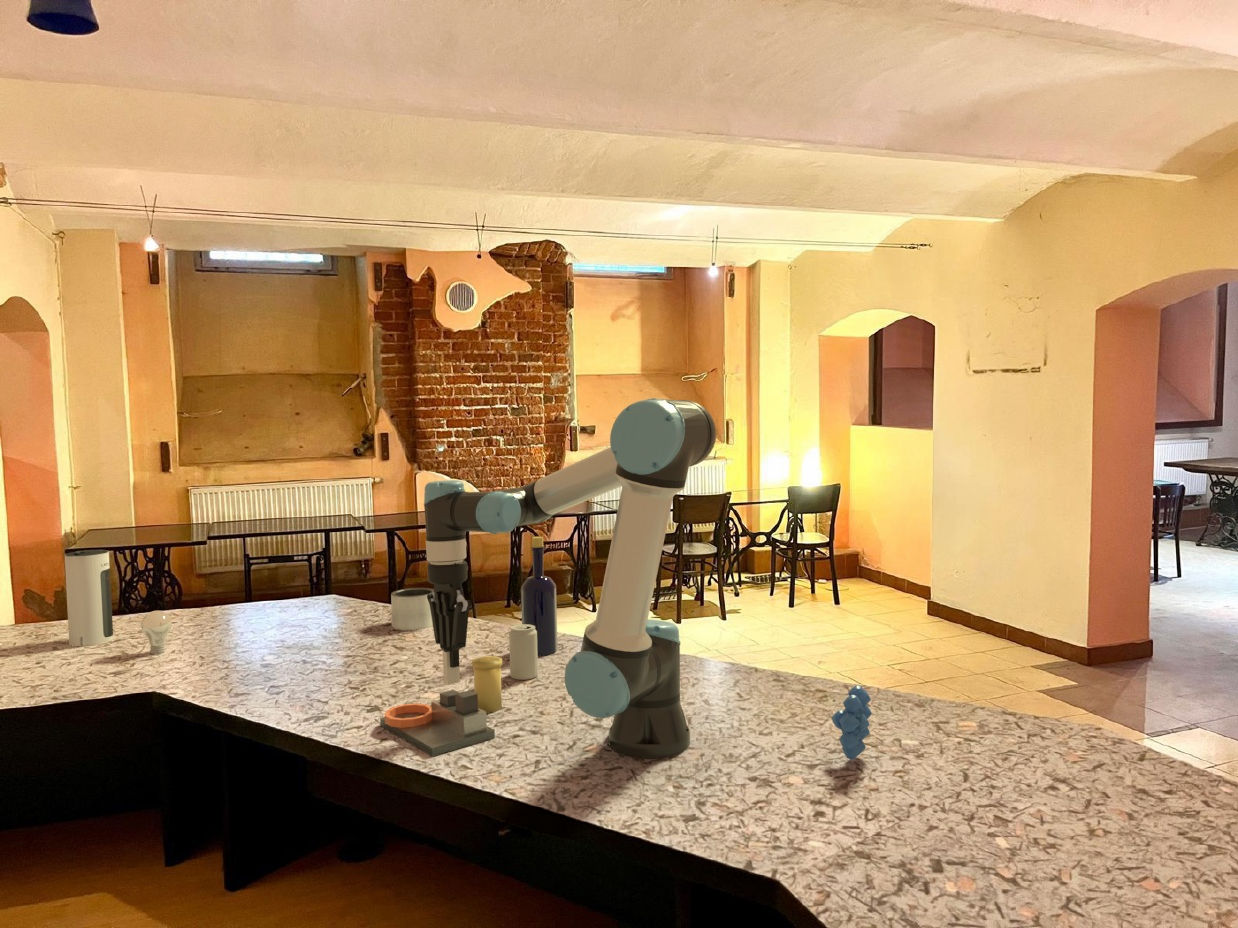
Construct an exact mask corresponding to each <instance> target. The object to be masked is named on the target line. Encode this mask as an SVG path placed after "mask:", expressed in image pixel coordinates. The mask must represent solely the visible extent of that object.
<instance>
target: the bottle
mask: <svg viewBox="0 0 1238 928" xmlns="http://www.w3.org/2000/svg"><path fill="white" fill-rule="evenodd" d="M531 544H532V545H531V547H530V549H531V550H530V551H531V553H532V575H533V576H529V577H527V578H526V579H525V580H524V582H523V583H522V585H521V587H520V593H521V597H520V598H521V600H520V601H521V602H520V605H521V624H529V625H534V626H535V630H536V631H537V654H538V657H546V656H550V655H554V654H556V652H558V614H557V613H558V612H557V610H558V609H557V585H556V583H555V582H554V580H553V579H552V578H551V577H550V576H545V575H544V551H545V546H544V536H533V537H531Z"/></svg>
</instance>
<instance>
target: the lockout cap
mask: <svg viewBox="0 0 1238 928" xmlns="http://www.w3.org/2000/svg"><path fill="white" fill-rule="evenodd" d="M502 666H503V658H502V657H499V656H493V655H492V656H489V655H487V656H481V657H477V658H474V659H472V661H471V667H472V668H473V685H474V686H473V689H474V691H473V692H474V693H476V694H477V695H478V708H480V709H482V710H484V711H486V714H490V713H495V712H497V711H501V710H502V708H503V707H502V706H503V705H502V703H503V702H502V701H503V699H502Z"/></svg>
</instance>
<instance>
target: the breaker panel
mask: <svg viewBox="0 0 1238 928" xmlns="http://www.w3.org/2000/svg"><path fill="white" fill-rule="evenodd" d="M430 703H431V704H430V705H429V704H428V705H429V706H431V710H432V720H431V721H430V722H428V723H426V724H423V725H419V726H416V727H405V728H399V727H391V726H389V725H387V724H386V723H385V716H383V717H380V718H379V721H380V723H379V725H380V727H382V728H384V729H385V730H387V731H389V732H390V733H392V734H394V735H396V736H397V737H399V738H401V739H402V740H404V741H406V742H407V743H409V744H410V745H413V746H414V747H415V748H418V749H419V750H421V751H423V752H424V753H426V754H428V755H429V756H431V757H436V756H439V755H442V754H446V753H449V752H452V751H455V750H459V749H462V748H465V747H466V748H467V747H469V746H472V745H476V744H479V743H482V742H486V741H490V740H493V739H495V738H496V736H495V735H496V733H495V731H496V730H495V729H494V728H492V727H490V726H488V725H487V713H486V711H484V710H482V709H480V708H478V712H474V713H470V714H467V715H462V714H460V713H457V712H456V705H454V706H451V707H445V706H443V705H441V704H440V699H437V700H433V701H431V702H430ZM424 714H425V713H418V712H412V713H403V714H399V715H396V716H394V718H414V717H418V716H422V715H424Z"/></svg>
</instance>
